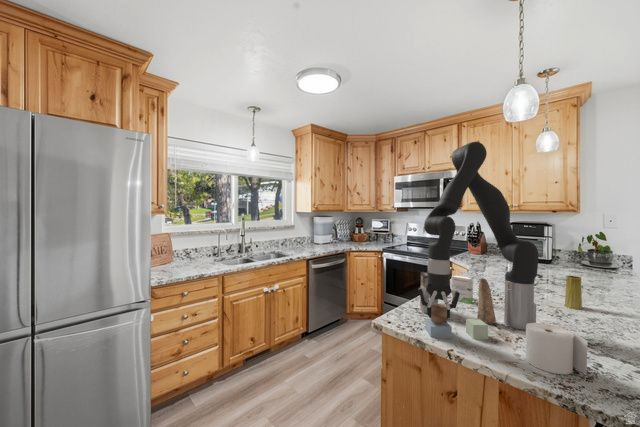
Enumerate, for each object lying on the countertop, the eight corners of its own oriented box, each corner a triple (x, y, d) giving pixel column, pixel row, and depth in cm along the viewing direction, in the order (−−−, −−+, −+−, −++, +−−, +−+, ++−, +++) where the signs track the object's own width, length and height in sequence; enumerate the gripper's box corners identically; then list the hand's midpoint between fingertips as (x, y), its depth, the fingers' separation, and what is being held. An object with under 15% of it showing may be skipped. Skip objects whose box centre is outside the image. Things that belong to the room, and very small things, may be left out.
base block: (444, 330, 103) (444, 319, 103) (451, 338, 96) (451, 327, 96) (425, 329, 103) (425, 318, 103) (430, 337, 96) (430, 326, 96)
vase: (567, 308, 126) (568, 277, 126) (562, 304, 132) (562, 274, 132) (585, 310, 124) (585, 278, 124) (578, 306, 130) (578, 276, 130)
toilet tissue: (519, 352, 87) (519, 320, 86) (565, 358, 83) (566, 325, 83) (534, 371, 76) (535, 335, 76) (588, 379, 73) (589, 341, 73)
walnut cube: (444, 318, 101) (444, 304, 101) (446, 323, 96) (446, 309, 96) (430, 316, 103) (430, 303, 103) (431, 321, 98) (431, 307, 98)
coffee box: (419, 305, 128) (420, 271, 128) (434, 307, 127) (434, 272, 127) (423, 313, 119) (423, 276, 119) (438, 314, 118) (439, 277, 118)
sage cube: (479, 333, 100) (480, 319, 100) (487, 339, 95) (488, 325, 95) (465, 332, 100) (466, 319, 100) (473, 339, 95) (473, 324, 95)
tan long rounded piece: (477, 319, 114) (479, 325, 108) (470, 276, 114) (472, 280, 109) (494, 319, 112) (498, 326, 106) (487, 275, 112) (490, 279, 106)
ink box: (473, 301, 135) (473, 277, 135) (469, 304, 131) (470, 279, 131) (454, 297, 141) (455, 274, 141) (451, 299, 138) (451, 276, 137)
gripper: (458, 270, 101) (457, 316, 101) (417, 267, 105) (416, 312, 105) (462, 275, 94) (462, 324, 94) (418, 272, 98) (417, 319, 98)
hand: (438, 317), depth 100 cm, fingers closed on walnut cube, 5 cm apart
